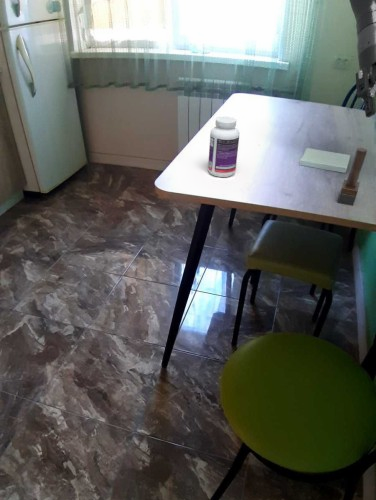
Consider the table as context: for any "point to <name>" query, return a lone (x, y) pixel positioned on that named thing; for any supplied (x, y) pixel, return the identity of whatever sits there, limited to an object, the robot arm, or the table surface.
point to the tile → (325, 160)
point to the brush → (352, 178)
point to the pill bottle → (223, 147)
